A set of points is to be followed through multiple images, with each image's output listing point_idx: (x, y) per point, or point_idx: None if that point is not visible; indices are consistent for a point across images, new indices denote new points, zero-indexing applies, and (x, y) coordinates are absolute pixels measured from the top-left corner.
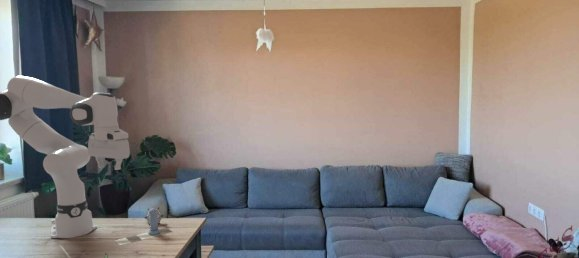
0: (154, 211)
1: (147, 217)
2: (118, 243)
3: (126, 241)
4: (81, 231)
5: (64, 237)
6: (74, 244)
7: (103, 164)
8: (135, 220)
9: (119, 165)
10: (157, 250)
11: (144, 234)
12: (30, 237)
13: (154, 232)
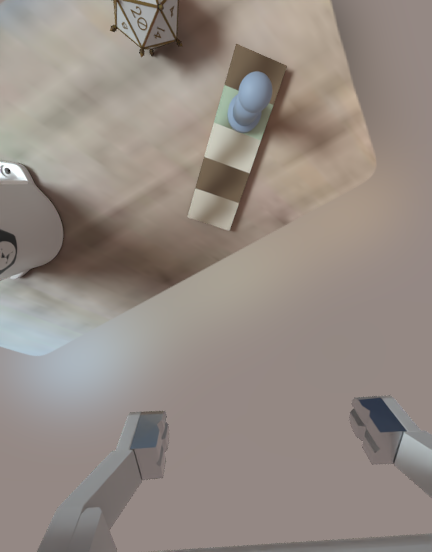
0: (270, 95)
1: (147, 45)
2: (214, 224)
3: (221, 205)
4: (53, 230)
5: (45, 262)
6: (109, 269)
7: (161, 442)
8: (45, 27)
9: (413, 434)
10: (325, 190)
11: (222, 138)
12: None
13: (256, 123)
